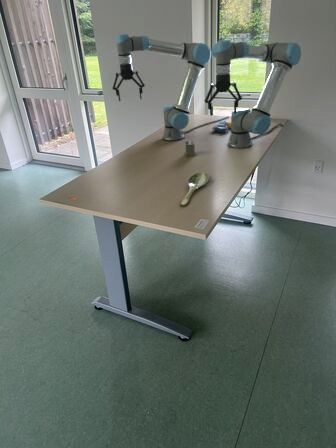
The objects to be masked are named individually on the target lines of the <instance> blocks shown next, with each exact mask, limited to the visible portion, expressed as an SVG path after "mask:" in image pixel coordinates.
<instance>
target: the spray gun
mask: <svg viewBox="0 0 336 448" xmlns="http://www.w3.org/2000/svg"><path fill="white" fill-rule="evenodd" d="M230 129H231V121H228V122H227V121H226V120H220V121H218V122H216V124H215V125H214V126H213V127H212V130H211V131H213V132H214V133H216V132H217V133H228V132H229V130H230Z"/></svg>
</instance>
